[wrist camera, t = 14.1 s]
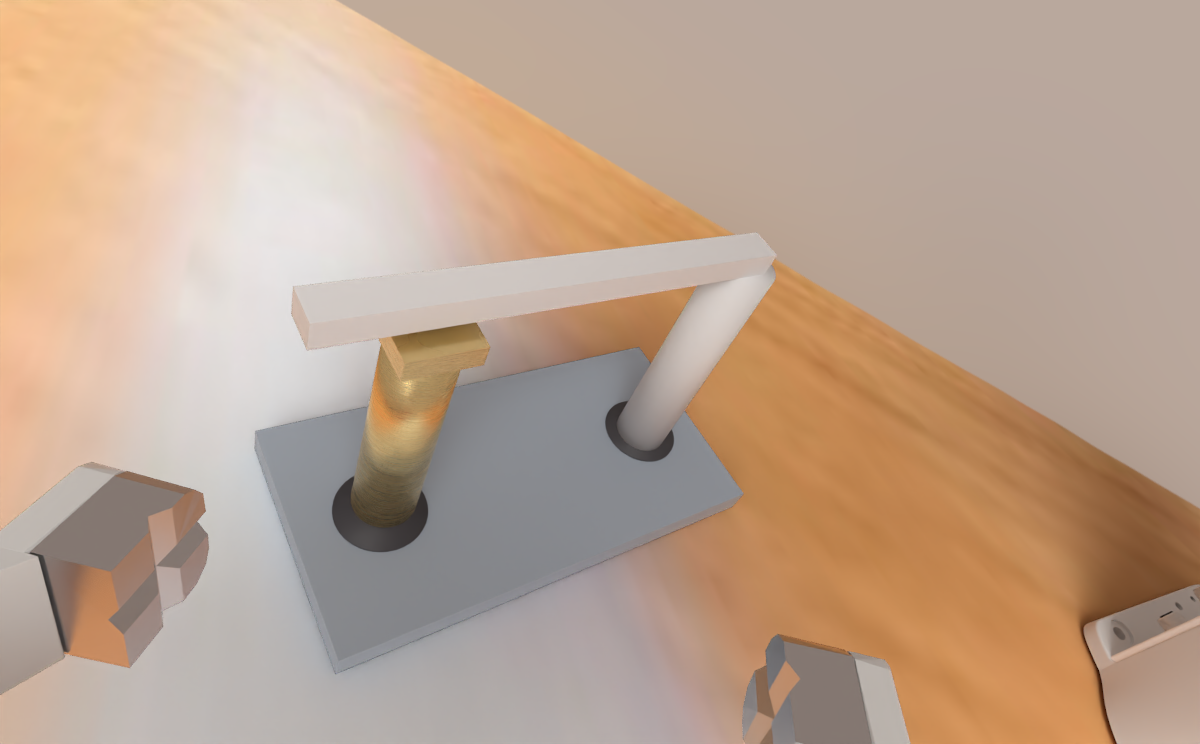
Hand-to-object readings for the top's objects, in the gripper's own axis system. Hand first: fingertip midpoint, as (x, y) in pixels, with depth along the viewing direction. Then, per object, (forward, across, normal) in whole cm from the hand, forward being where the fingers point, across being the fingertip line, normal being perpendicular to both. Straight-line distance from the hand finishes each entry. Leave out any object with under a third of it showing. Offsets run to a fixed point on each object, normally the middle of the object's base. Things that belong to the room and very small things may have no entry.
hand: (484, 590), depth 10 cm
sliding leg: (+18, +8, +17) cm, 26 cm away
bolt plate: (+24, +2, +18) cm, 30 cm away
